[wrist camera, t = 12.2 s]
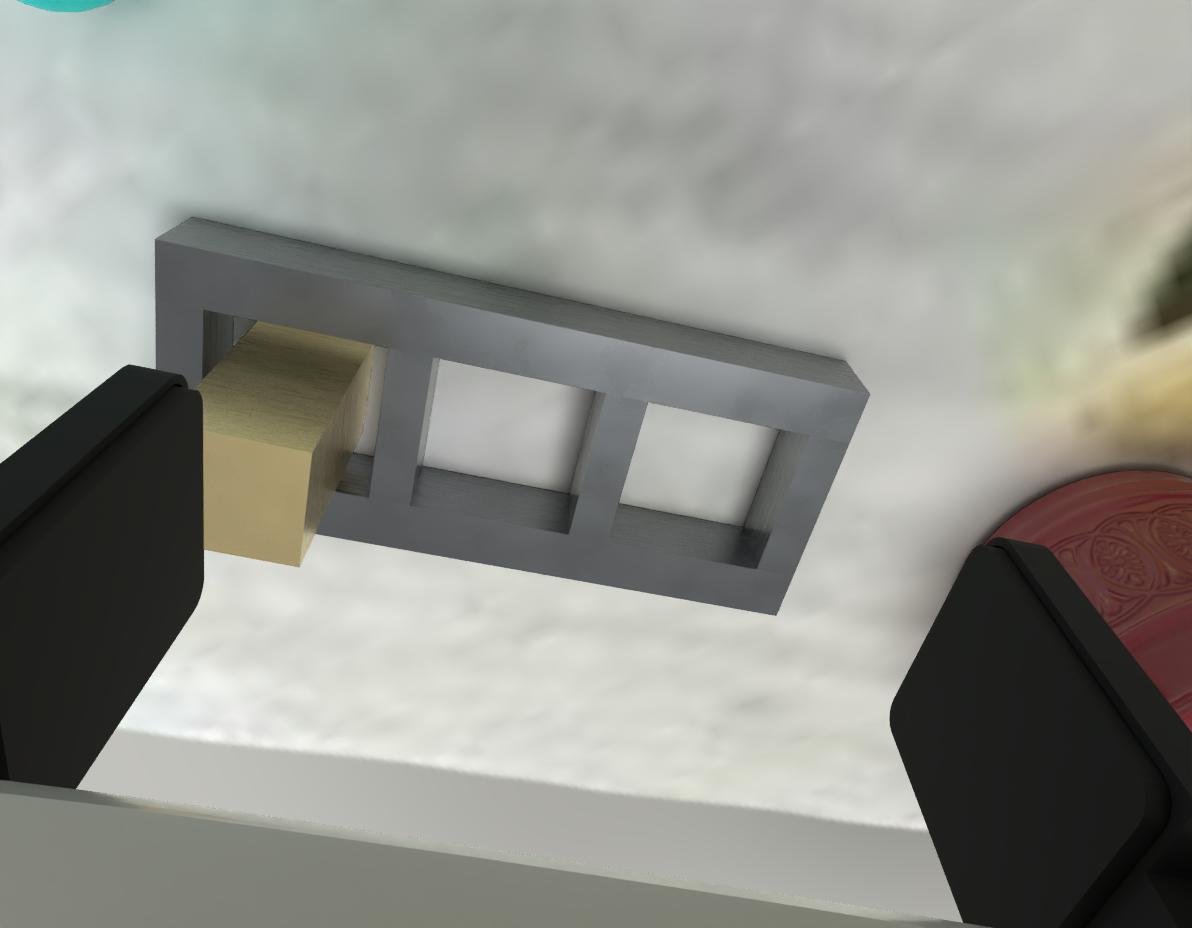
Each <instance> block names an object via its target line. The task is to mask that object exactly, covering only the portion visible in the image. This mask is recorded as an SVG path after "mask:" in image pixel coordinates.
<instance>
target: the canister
mask: <svg viewBox="0 0 1192 928" xmlns="http://www.w3.org/2000/svg"><path fill="white" fill-rule="evenodd" d="M996 537H1004V538H1009V539H1014V540H1019V541H1024V542H1029V543H1034V544H1039V545H1043V546H1046V547H1047V548H1048V549H1049V550H1051V552H1052V553H1053V554H1054V555H1055V557H1056V558H1057V559H1058V561H1059V562H1060V563H1061V564H1062V566H1063V567H1064V568H1065V570H1066V571H1067V572H1068V573H1069V575H1070V576H1071V577H1072V579H1073V580H1074V581H1075V582H1076V584H1077V585H1078V586H1079V588H1080V589H1081V590H1082V591H1083V593H1084V594H1085V595H1086V597H1087V598H1088V599H1089V600H1090V602H1091V603H1092V604H1093V606H1094V607H1095V608H1096V609H1097V611H1098V612H1099V613H1100V615H1101V616H1102V617H1103V619H1104V620H1105V621H1106V622H1107V624H1108V625H1109V626H1110V628H1111V629H1112V630H1113V631H1114V633H1115V634H1116V635H1117V637H1118V638H1119V639H1120V640H1121V642H1122V643H1123V644H1124V646H1125V647H1126V648H1127V649H1128V651H1129V652H1130V653H1131V655H1132V656H1133V657H1134V658H1135V660H1136V661H1137V662H1138V664H1139V665H1140V666H1141V667H1142V669H1143V670H1144V671H1145V673H1146V674H1147V675H1148V676H1149V678H1150V679H1151V680H1152V682H1153V683H1154V684H1155V685H1156V687H1157V688H1158V689H1159V691H1160V692H1161V693H1162V695H1163V696H1164V697H1165V698H1166V700H1167V701H1168V702H1169V704H1170V705H1171V706H1172V707H1173V709H1174V710H1175V711H1176V713H1177V714H1178V715H1179V716H1180V718H1181V719H1182V720H1183V722H1184V723H1185V724H1186V725H1187V727H1188V728H1189V729H1190V731H1191V732H1192V479H1190V478H1187V477H1185V476H1181V475H1177V474H1173V473H1168V472H1162V471H1152V470H1131V471H1120V472H1113V473H1107V474H1102V475H1098V476H1093V477H1090V478H1086V479H1083V480H1080V481H1077V482H1074V483H1071V484H1069V485H1066V486H1064V487H1062V488H1059V489H1057V490H1055V491H1053V492H1051V493H1049V494H1047V495H1045V496H1043V497H1041V498H1040V499H1038V500H1036V501H1034V502H1033V503H1031V504H1030V505H1028V506H1027V507H1025V508H1023V509H1022V510H1021V511H1019V512H1018V513H1017V514H1015V515H1014V516H1013V517H1011V518H1010V519H1009V520H1008V521H1007V522H1005V523H1004V524H1003V525H1002V526H1001V527H1000V528H999V529H998V530H997V531H996V532H995V533H994V534H993V535H992V536H991V537H990V538H989V539H988V540H987V542H986V543H985V544H984V545H986V544H987V543H988V542H989V541H990V540H991V539H993V538H996Z"/></svg>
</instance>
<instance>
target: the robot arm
mask: <svg viewBox="0 0 1192 928" xmlns="http://www.w3.org/2000/svg"><path fill="white" fill-rule="evenodd" d="M203 584H204V480H203V399H202V396H201V393H200V392H199V391H197V390H192V389H189V388H188V384H187V381H186V379H185V377H184V376H183V375H181V374H176V373H170V372H165V371H160V370H155V369H150V368H145V367H140V366H135V365H127V366H124V367H123V368H121V369H120V370H119V371H117V372H116V373H115V374H114V375H112V376H111V377H110V378H109V379H107V380H106V381H105V382H103V383H102V384H101V385H100V386H98V387H97V388H96V389H95V390H93V391H92V392H91V393H90V394H88V395H87V396H86V397H84V398H83V399H82V400H81V401H79V402H78V403H77V404H76V405H74V406H73V407H72V408H70V409H69V410H68V411H67V412H65V413H64V414H63V415H62V416H60V417H59V418H58V419H56V420H55V421H54V422H53V423H51V424H50V425H49V426H48V427H46V428H45V429H44V430H43V431H41V432H40V433H39V434H37V435H36V436H35V437H34V438H32V439H31V440H30V441H29V442H27V443H26V444H25V445H23V446H22V447H21V448H20V449H18V450H17V451H16V452H15V453H13V454H12V455H11V456H9V457H8V458H7V459H6V460H4V461H3V462H2V463H1V464H0V928H1192V732H1191V731H1190V729H1189V728H1188V727H1187V725H1186V724H1185V723H1184V722H1183V720H1182V719H1181V718H1180V716H1179V715H1178V714H1177V713H1176V711H1175V710H1174V709H1173V707H1172V706H1171V705H1170V704H1169V702H1168V701H1167V700H1166V698H1165V697H1164V696H1163V695H1162V693H1161V692H1160V691H1159V689H1158V688H1157V687H1156V685H1155V684H1154V683H1153V682H1152V680H1151V679H1150V678H1149V676H1148V675H1147V674H1146V673H1145V671H1144V670H1143V669H1142V667H1141V666H1140V665H1139V664H1138V662H1137V661H1136V660H1135V658H1134V657H1133V656H1132V655H1131V653H1130V652H1129V651H1128V649H1127V648H1126V647H1125V646H1124V644H1123V643H1122V642H1121V640H1120V639H1119V638H1118V637H1117V635H1116V634H1115V633H1114V631H1113V630H1112V629H1111V628H1110V626H1109V625H1108V624H1107V622H1106V621H1105V620H1104V619H1103V617H1102V616H1101V615H1100V613H1099V612H1098V611H1097V609H1096V608H1095V607H1094V606H1093V604H1092V603H1091V602H1090V600H1089V599H1088V598H1087V597H1086V595H1085V594H1084V593H1083V591H1082V590H1081V589H1080V588H1079V586H1078V585H1077V584H1076V582H1075V581H1074V580H1073V579H1072V577H1071V576H1070V575H1069V573H1068V572H1067V571H1066V570H1065V568H1064V567H1063V566H1062V564H1061V563H1060V562H1059V561H1058V559H1057V558H1056V557H1055V555H1054V554H1053V553H1052V552H1051V550H1049V549H1048V548H1047V547H1046V546H1043V545H1039V544H1034V543H1029V542H1024V541H1019V540H1014V539H1009V538H1004V537H996V538H993V539H991V540H990V541H989V542H988V543H987V544H986V545H979V546H977V547H975V548H974V549H973V550H972V552H971V553H970V555H969V556H968V558H967V560H966V562H965V564H964V566H963V568H962V570H961V572H960V573H959V575H958V577H957V579H956V581H955V583H954V585H953V587H952V589H951V591H950V593H949V594H948V596H947V598H946V600H945V602H944V604H943V606H942V608H941V610H940V612H939V614H938V616H937V617H936V619H935V621H934V623H933V625H932V627H931V629H930V631H929V633H928V635H927V637H926V638H925V640H924V642H923V644H922V646H921V648H920V650H919V652H918V654H917V656H916V658H915V660H914V661H913V663H912V665H911V667H910V669H909V671H908V673H907V675H906V677H905V679H904V681H903V682H902V684H901V686H900V688H899V690H898V692H897V694H896V696H895V698H894V700H893V702H892V705H891V710H890V727H891V731H892V734H893V737H894V740H895V742H896V745H897V748H898V750H899V753H900V756H901V758H902V761H903V764H904V766H905V769H906V772H907V774H908V777H909V780H910V782H911V785H912V788H913V790H914V793H915V796H916V798H917V801H918V804H919V806H920V809H921V812H922V814H923V817H924V820H925V822H926V825H927V828H928V830H929V833H930V835H931V838H932V840H933V843H934V846H935V849H936V851H937V854H938V857H939V859H940V862H941V865H942V867H943V870H944V872H945V875H946V878H947V881H948V883H949V886H950V888H951V891H952V894H953V897H954V899H955V902H956V904H957V907H958V910H959V913H960V915H961V918H962V921H963V923H960V922H954V921H947V920H941V919H935V918H929V917H923V916H916V915H909V914H904V913H898V912H891V911H885V910H879V909H873V908H865V907H860V906H853V905H848V904H841V903H835V902H828V901H823V900H816V899H810V898H804V897H797V896H791V895H784V894H778V893H771V892H765V891H759V890H752V889H746V888H739V887H733V886H726V885H720V884H713V883H707V882H700V881H694V880H688V879H681V878H675V877H668V876H662V875H655V874H649V873H642V872H635V871H629V870H623V869H616V868H610V867H603V866H596V865H590V864H584V863H577V862H570V861H563V860H557V859H551V858H544V857H538V856H531V855H525V854H518V853H511V852H505V851H499V850H492V849H486V848H478V847H472V846H465V845H458V844H452V843H445V842H438V841H431V840H425V839H418V838H411V837H405V836H398V835H391V834H383V833H377V832H370V831H364V830H357V829H351V828H343V827H337V826H330V825H324V824H316V823H310V822H303V821H297V820H289V819H283V818H276V817H270V816H263V815H256V814H249V813H242V812H236V811H229V810H222V809H216V808H209V807H202V806H195V805H187V804H180V803H173V802H165V801H158V800H151V799H143V798H136V797H129V796H121V795H114V794H106V793H99V792H92V791H84V790H77V789H76V788H77V786H78V785H79V783H80V782H81V780H82V779H83V777H84V776H85V774H86V773H87V771H88V770H89V768H90V767H91V765H92V764H93V762H94V761H95V759H96V758H97V756H98V755H99V753H100V752H101V750H102V749H103V747H104V746H105V744H106V743H107V741H108V740H109V738H110V737H111V735H112V734H113V732H114V731H115V729H116V728H117V726H118V725H119V723H120V722H121V720H122V719H123V717H124V716H125V714H126V713H127V711H128V710H129V708H130V707H131V705H132V704H133V702H134V701H135V699H136V698H137V696H138V695H139V693H140V692H141V690H142V689H143V687H144V686H145V684H146V682H147V681H148V679H149V678H150V676H151V675H152V673H153V672H154V670H155V669H156V667H157V666H158V664H159V663H160V661H161V660H162V658H163V657H164V655H165V654H166V652H167V651H168V649H169V648H170V646H171V645H172V643H173V642H174V640H175V639H176V637H177V636H178V634H179V633H180V631H181V630H182V628H183V627H184V625H185V624H186V622H187V621H188V619H189V618H190V616H191V615H192V613H193V612H194V610H195V608H196V606H197V604H198V602H199V599H200V596H201V593H202V589H203Z"/></svg>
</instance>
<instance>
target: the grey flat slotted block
mask: <svg viewBox="0 0 1192 928" xmlns="http://www.w3.org/2000/svg"><path fill="white" fill-rule="evenodd" d="M155 299H156V370H160V371H165V372H170V373H176V374H181V375H183V376H184V377H185V379H186V381H187V384H188V388H189V389H192V390H194V388H195V387H196V386H197V385H198V384H199V383H200V382H201V381H202V380H203V379H204V378H205V377H206V376H207V375H208V374H209V372H210V371H211V370H212V369H213V368H214V367H215V366H216V365H217V364H218V363H219V362H220V361H221V360H222V359H223V358H224V356H225V355H226V354H227V353H228V352H229V351H230V350H231V349H232V346H233V320H234V316H237V317H242V318H247V319H252V320H256V321H261V322H266V323H271V324H276V325H280V326H285V327H290V328H295V329H300V330H304V331H309V332H314V333H319V334H324V335H328V336H333V337H338V338H343V339H348V340H353V341H357V342H362V343H367V344H372V345H377V346H381V347H386V348H389V349H388V356H387V364H386V372H385V380H384V387H383V395H382V403H381V410H380V418H379V426H378V433H377V441H376V449H375V456H374V457H371V456H366V455H361V454H355V453H353V454H352V456H351V458H350V460H349V462H348V464H347V467H346V469H345V471H344V473H343V475H342V477H341V479H340V482H339V484H338V486H337V488H336V490H335V492H334V494H333V496H332V499H331V501H330V503H329V505H328V507H327V509H326V511H325V514H324V516H323V518H322V520H321V522H320V524H319V526H318V529H317V531H316V533H315V534H319V535H324V536H330V537H336V538H341V539H347V540H353V541H358V542H364V543H369V544H375V545H381V546H386V547H392V548H398V549H403V550H409V551H414V552H420V553H426V554H431V555H437V556H443V557H448V558H454V559H460V560H465V561H471V562H476V563H482V564H488V565H493V566H499V567H505V568H510V569H516V570H521V571H527V572H533V573H538V574H544V575H550V576H555V577H561V578H567V579H572V580H578V581H583V582H589V583H595V584H600V585H606V586H612V587H617V588H623V589H628V590H634V591H640V592H645V593H651V594H657V595H662V596H668V597H673V598H679V599H685V600H690V601H696V602H702V603H707V604H713V605H719V606H724V607H730V608H735V609H741V610H747V611H752V612H758V613H764V614H769V615H775V616H776V615H777V613H778V611H779V608H780V606H781V604H782V601H783V599H784V596H785V594H786V592H787V589H788V587H789V585H790V582H791V580H792V578H793V575H794V573H795V570H796V568H797V566H798V563H799V561H800V559H801V556H802V554H803V552H804V549H805V547H806V545H807V542H808V540H809V537H810V535H811V533H812V530H813V528H814V526H815V523H816V521H817V519H818V516H819V514H820V511H821V509H822V507H823V504H824V502H825V500H826V497H827V495H828V493H829V490H830V488H831V486H832V483H833V481H834V478H835V476H836V474H837V471H838V469H839V467H840V464H841V462H842V460H843V457H844V455H845V452H846V450H847V448H848V445H849V443H850V441H851V438H852V436H853V434H854V431H855V429H856V426H857V424H858V422H859V419H860V417H861V415H862V412H863V410H864V408H865V405H866V403H867V401H868V398H869V396H870V393H869V392H868V390H867V389H866V388H865V386H864V385H863V384H862V382H861V381H860V380H859V378H858V377H857V375H856V374H855V373H854V371H853V370H852V369H851V367H850V366H849V365H848V363H847V362H846V361H841V360H837V359H832V358H828V357H823V356H819V355H814V354H810V353H805V352H801V351H796V350H792V349H787V348H782V347H778V346H773V345H769V344H764V343H760V342H755V341H751V340H746V339H742V338H737V337H733V336H728V335H724V334H719V333H715V332H710V331H706V330H701V329H697V328H692V327H688V326H683V325H678V324H674V323H669V322H665V321H660V320H656V319H651V318H647V317H642V316H638V315H633V314H629V313H624V312H620V311H615V310H611V309H606V308H602V307H597V306H593V305H588V304H584V303H579V302H574V301H570V300H565V299H561V298H556V297H552V296H547V295H543V294H538V293H534V292H529V291H525V290H520V289H516V288H511V287H507V286H502V285H498V284H493V283H489V282H484V281H480V280H475V279H470V278H466V277H461V276H457V275H452V274H448V273H443V272H439V271H434V270H430V269H425V268H421V267H416V266H412V265H407V264H403V263H398V262H394V261H389V260H385V259H380V258H376V257H371V256H366V255H362V254H357V253H353V252H348V251H344V250H339V249H335V248H330V247H326V246H321V245H317V244H312V243H308V242H303V241H299V240H294V239H290V238H285V237H281V236H276V235H272V234H267V233H262V232H258V231H253V230H249V229H244V228H240V227H235V226H231V225H226V224H222V223H217V222H213V221H208V220H204V219H199V218H195V217H191V218H190V219H188V220H186V221H185V222H183V223H181V224H180V225H178V226H176V227H175V228H173V229H171V230H170V231H168V232H166V233H165V234H163V235H161V236H160V237H158V238H156V239H155ZM440 359H444V360H449V361H454V362H458V363H463V364H468V365H473V366H478V367H482V368H487V369H492V370H497V371H502V372H507V373H511V374H516V375H521V376H526V377H531V378H535V379H540V380H545V381H550V382H555V383H559V384H564V385H569V386H574V387H579V388H583V389H588V390H593V391H596V392H595V396H594V399H593V403H592V407H591V411H590V415H589V419H588V423H587V427H586V430H585V434H584V438H583V442H582V446H581V450H580V454H579V458H578V461H577V465H576V469H575V473H574V477H573V481H572V485H571V489H570V493H569V494H565V493H560V492H554V491H549V490H544V489H539V488H534V487H528V486H523V485H518V484H513V483H507V482H502V481H497V480H492V479H486V478H481V477H476V476H471V475H465V474H460V473H455V472H450V471H444V470H439V469H434V468H429V467H423V466H422V465H423V459H424V453H425V447H426V441H427V434H428V428H429V422H430V416H431V410H432V403H433V397H434V391H435V385H436V379H437V372H438V366H439V360H440ZM648 402H651V403H656V404H660V405H665V406H670V407H675V408H680V409H685V410H689V411H694V412H699V413H704V414H709V415H713V416H718V417H723V418H728V419H733V420H737V421H742V422H747V423H752V424H757V425H762V426H766V427H771V428H776V429H780V432H779V435H778V437H777V440H776V443H775V445H774V448H773V450H772V453H771V456H770V458H769V461H768V464H767V466H766V469H765V472H764V474H763V477H762V480H761V482H760V485H759V488H758V490H757V493H756V496H755V498H754V501H753V503H752V506H751V509H750V511H749V514H748V517H747V519H746V522H745V525H744V527H738V526H733V525H727V524H722V523H717V522H712V521H706V520H701V519H696V518H691V517H685V516H680V515H675V514H670V513H664V512H659V511H654V510H649V509H644V508H638V507H633V506H628V505H623V504H619V500H620V497H621V493H622V490H623V486H624V483H625V479H626V476H627V473H628V469H629V466H630V462H631V459H632V455H633V452H634V449H635V445H636V442H637V438H638V435H639V431H640V428H641V425H642V421H643V418H644V414H645V411H646V407H647V404H648Z"/></svg>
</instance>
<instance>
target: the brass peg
mask: <svg viewBox="0 0 1192 928" xmlns="http://www.w3.org/2000/svg"><path fill="white" fill-rule="evenodd" d="M374 349H375V345H372V344H367V343H362V342H357V341H353V340H348V339H343V338H338V337H333V336H328V335H324V334H319V333H314V332H309V331H304V330H300V329H295V328H290V327H285V326H280V325H276V324H271V323H266V322H261V321H257V322H256V323H255V324H254V326H253V327H252V328H251V329H250V330H249V331H248V332H247V333H246V334H245V335H244V336H243V337H242V338H241V339H240V340H239V342H238V343H237V344H236V345H235V346H234V347H233V348H232V349H231V350H230V351H229V352H228V353H227V354H226V355H225V356H224V358H223V359H222V360H221V361H220V362H219V363H218V364H217V365H216V366H215V367H214V368H213V369H212V370H211V371H210V372H209V374H208V375H207V376H206V377H205V378H204V379H203V380H202V381H201V382H200V383H199V384H198V385H197V386H196V387H195V388H194V390H197V391H199V392H200V393H201V396H202V399H203V480H204V550H209V551H215V552H220V553H225V554H231V555H236V556H242V557H247V558H252V559H258V560H263V561H269V562H274V563H279V564H285V565H290V566H295V567H300V565H301V563H302V561H303V558H304V556H305V554H306V552H307V550H308V548H309V546H310V543H311V541H312V539H313V537H314V535H315V533H316V531H317V529H318V526H319V524H320V522H321V520H322V518H323V516H324V514H325V511H326V509H327V507H328V505H329V503H330V501H331V499H332V496H333V494H334V492H335V490H336V488H337V486H338V484H339V482H340V479H341V477H342V475H343V473H344V471H345V469H346V467H347V464H348V462H349V460H350V458H351V456H352V454H353V452H354V450H355V447H356V445H357V443H358V441H359V439H360V437H361V435H362V432H363V427H364V420H365V413H366V406H367V399H368V392H369V385H370V378H371V371H372V363H373V356H374Z"/></svg>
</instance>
